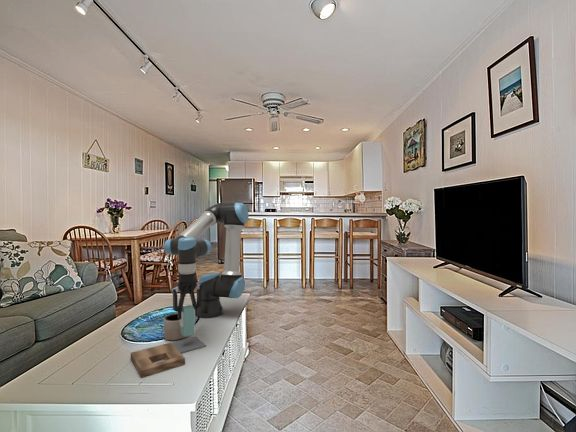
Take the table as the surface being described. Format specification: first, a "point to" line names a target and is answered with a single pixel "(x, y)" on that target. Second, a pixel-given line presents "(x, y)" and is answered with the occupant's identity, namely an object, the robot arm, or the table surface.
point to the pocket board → (156, 359)
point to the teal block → (188, 320)
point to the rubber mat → (188, 344)
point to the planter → (172, 328)
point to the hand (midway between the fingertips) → (187, 324)
